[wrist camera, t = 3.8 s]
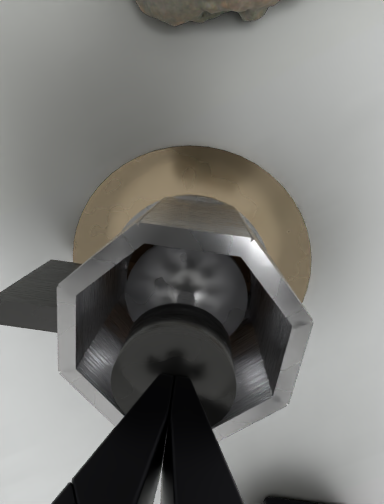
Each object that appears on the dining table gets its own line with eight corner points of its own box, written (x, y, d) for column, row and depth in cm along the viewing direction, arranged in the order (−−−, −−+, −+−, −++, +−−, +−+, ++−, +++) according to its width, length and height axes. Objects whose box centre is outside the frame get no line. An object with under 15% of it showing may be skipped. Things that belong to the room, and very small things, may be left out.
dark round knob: (256, 246, 12) (296, 314, 7) (234, 351, 14) (252, 472, 9) (132, 229, 12) (74, 283, 7) (124, 336, 14) (74, 446, 9)
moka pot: (339, 165, 14) (461, 170, 7) (279, 379, 18) (322, 509, 11) (73, 128, 14) (-47, 100, 7) (73, 350, 18) (-5, 462, 11)
